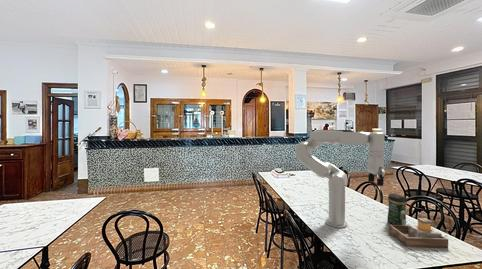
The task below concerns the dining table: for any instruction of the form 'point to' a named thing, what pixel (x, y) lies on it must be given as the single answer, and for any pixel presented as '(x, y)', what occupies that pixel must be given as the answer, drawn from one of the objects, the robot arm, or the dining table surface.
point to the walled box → (418, 236)
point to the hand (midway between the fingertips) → (375, 183)
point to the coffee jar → (397, 209)
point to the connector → (424, 224)
